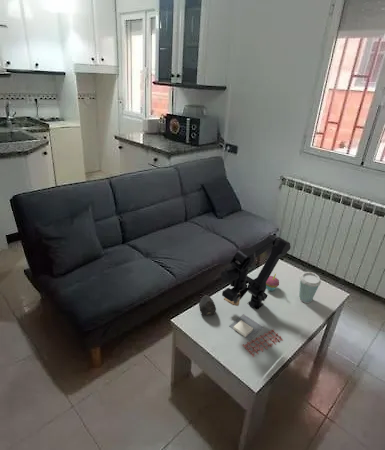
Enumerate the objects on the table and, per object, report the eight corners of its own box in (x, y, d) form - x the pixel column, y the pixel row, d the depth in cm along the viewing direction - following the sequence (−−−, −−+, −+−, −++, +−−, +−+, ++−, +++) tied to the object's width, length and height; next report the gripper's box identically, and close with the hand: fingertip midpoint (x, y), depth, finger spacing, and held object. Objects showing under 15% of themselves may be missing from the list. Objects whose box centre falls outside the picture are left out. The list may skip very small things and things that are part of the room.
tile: (241, 320, 148) (233, 326, 144) (253, 328, 144) (245, 334, 140) (240, 322, 149) (233, 328, 145) (252, 330, 145) (245, 337, 141)
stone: (212, 315, 156) (213, 295, 158) (218, 317, 149) (219, 296, 151) (197, 315, 154) (198, 294, 155) (202, 316, 146) (204, 295, 148)
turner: (228, 295, 156) (230, 286, 153) (240, 303, 152) (242, 293, 149) (223, 299, 153) (225, 289, 151) (235, 307, 149) (237, 297, 146)
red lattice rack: (240, 347, 137) (241, 344, 136) (271, 331, 147) (272, 328, 146) (251, 359, 132) (252, 356, 131) (282, 342, 141) (283, 338, 140)
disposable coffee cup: (315, 308, 162) (322, 285, 155) (294, 302, 165) (300, 280, 158) (314, 295, 171) (321, 273, 164) (294, 290, 174) (300, 269, 167)
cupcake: (280, 291, 173) (285, 273, 167) (268, 294, 170) (271, 276, 164) (272, 282, 180) (275, 265, 174) (259, 284, 177) (263, 267, 171)
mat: (243, 314, 155) (243, 313, 154) (263, 328, 147) (263, 327, 147) (228, 327, 147) (228, 326, 146) (249, 341, 139) (249, 340, 139)
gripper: (238, 260, 154) (235, 285, 161) (214, 275, 142) (211, 301, 149) (257, 270, 147) (252, 296, 155) (234, 287, 135) (230, 314, 142)
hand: (236, 301), depth 150 cm, fingers closed on turner, 3 cm apart
